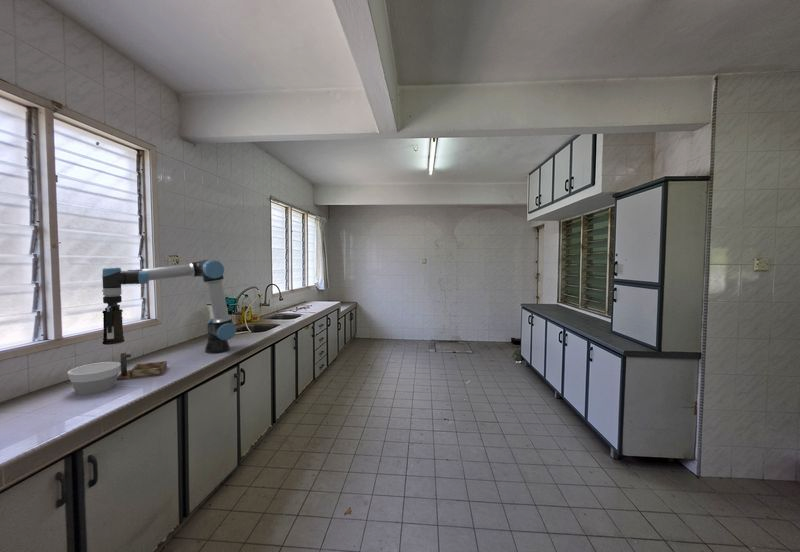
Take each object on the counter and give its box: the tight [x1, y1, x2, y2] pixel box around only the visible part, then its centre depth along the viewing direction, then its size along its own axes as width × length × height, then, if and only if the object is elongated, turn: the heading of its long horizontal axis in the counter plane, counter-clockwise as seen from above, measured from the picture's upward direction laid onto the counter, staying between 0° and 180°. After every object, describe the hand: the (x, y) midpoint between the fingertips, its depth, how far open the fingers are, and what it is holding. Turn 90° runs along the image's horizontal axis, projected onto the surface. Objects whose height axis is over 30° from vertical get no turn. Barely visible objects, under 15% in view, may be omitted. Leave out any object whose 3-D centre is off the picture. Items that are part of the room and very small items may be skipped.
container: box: [101, 308, 125, 346], centre depth 177 cm, size 9×9×18 cm
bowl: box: [67, 361, 121, 396], centre depth 159 cm, size 19×19×11 cm
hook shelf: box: [116, 352, 168, 382], centre depth 180 cm, size 20×14×13 cm
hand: (113, 336), depth 177 cm, fingers closed on container, 8 cm apart
